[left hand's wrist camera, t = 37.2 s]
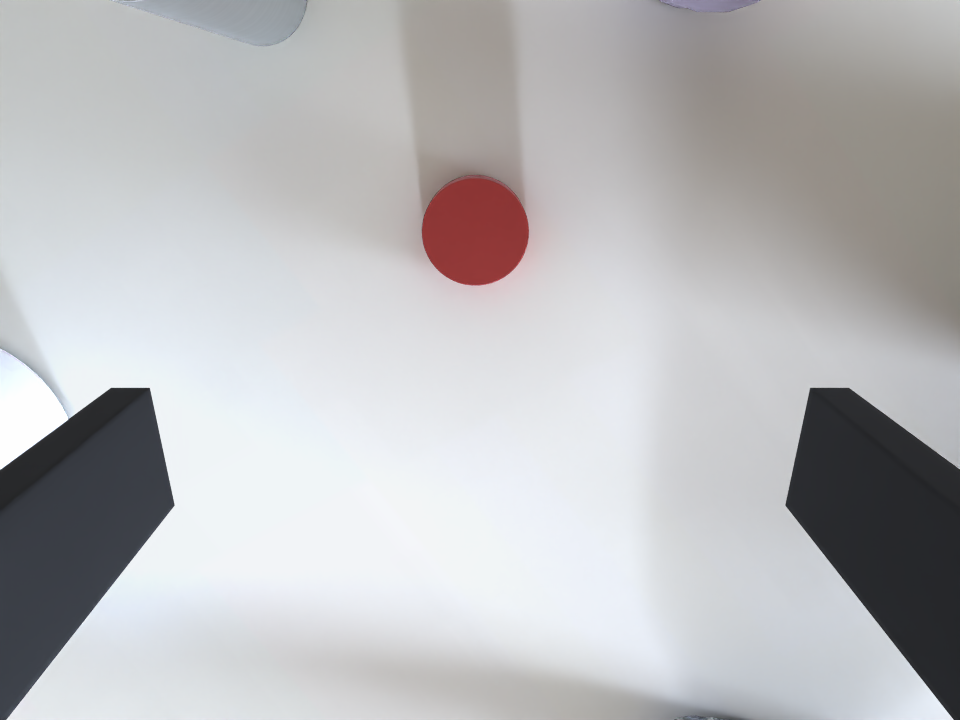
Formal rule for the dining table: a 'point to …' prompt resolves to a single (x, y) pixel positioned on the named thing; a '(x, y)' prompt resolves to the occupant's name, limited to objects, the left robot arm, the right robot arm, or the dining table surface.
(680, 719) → the concrete block
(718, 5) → the cat figurine
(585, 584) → the dining table surface
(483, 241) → the lid
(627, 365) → the dining table surface
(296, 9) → the grey cylinder
